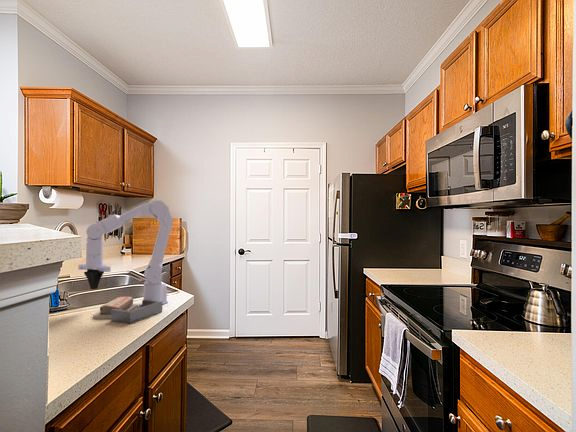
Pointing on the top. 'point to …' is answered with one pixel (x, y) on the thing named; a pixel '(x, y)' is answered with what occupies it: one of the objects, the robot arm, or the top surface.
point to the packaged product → (115, 307)
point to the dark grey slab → (137, 312)
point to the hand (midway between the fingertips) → (93, 288)
